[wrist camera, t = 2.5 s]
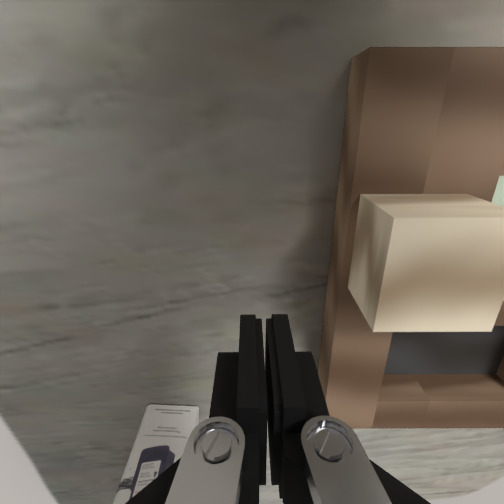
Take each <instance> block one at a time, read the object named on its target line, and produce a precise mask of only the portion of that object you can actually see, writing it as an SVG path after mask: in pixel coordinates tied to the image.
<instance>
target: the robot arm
mask: <svg viewBox="0 0 504 504" xmlns="http://www.w3.org/2000/svg"><path fill="white" fill-rule="evenodd" d="M267 421H268V437H269V453H270V468H271V483H272V485H279V495H280V498H283V503H284V504H431V503H429V502H428V501H426V500H425V499H424V498H422V497H421V496H419V495H418V494H417V493H415V492H414V491H413V490H411V489H410V488H408V487H407V486H406V485H404V484H403V483H401V482H400V481H399V480H397V479H396V478H394V477H393V476H392V475H390V474H389V473H388V472H386V471H385V470H383V469H382V468H381V467H379V466H378V465H376V464H375V463H374V462H372V461H371V460H370V459H369V458H368V456H367V454H366V452H365V450H364V448H363V447H362V445H361V443H360V441H359V439H358V437H357V435H356V434H355V432H354V431H353V429H352V428H351V427H350V426H349V425H347V424H346V423H345V422H343V421H342V420H340V419H338V418H335V417H331V416H330V415H329V411H328V408H327V404H326V401H325V397H324V394H323V390H322V386H321V383H320V379H319V376H318V372H317V369H316V365H315V362H314V358H313V355H312V353H311V352H295V349H294V344H293V339H292V334H291V330H290V325H289V320H288V315H287V314H272V318H271V319H266V352H265V363H264V348H263V333H262V319H256V315H241V316H240V338H239V352H219V353H218V357H217V364H216V371H215V379H214V386H213V393H212V401H211V408H210V415H209V419H206V420H204V421H202V422H201V423H199V424H198V425H197V426H196V427H195V428H194V429H193V430H192V432H191V434H190V436H189V438H188V440H187V443H186V446H185V449H184V452H183V454H182V457H181V458H179V459H178V460H177V461H176V462H175V463H173V464H172V465H171V466H170V467H169V468H167V469H166V470H165V471H164V472H162V473H161V474H160V475H159V476H158V477H156V478H155V479H154V480H153V481H152V482H150V483H149V484H148V485H147V486H146V487H144V488H143V489H142V490H141V491H140V492H138V493H137V494H136V495H135V496H133V497H132V498H131V499H130V500H129V501H127V502H126V503H125V504H259V485H266V451H267Z"/></svg>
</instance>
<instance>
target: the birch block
mask: <svg viewBox="0 0 504 504" xmlns="http://www.w3.org/2000/svg"><path fill="white" fill-rule="evenodd" d="M348 289H349V290H350V292H351V294H352V296H353V298H354V299H355V301H356V303H357V305H358V306H359V308H360V310H361V312H362V313H363V315H364V317H365V319H366V321H367V322H368V324H369V326H370V328H371V329H372V331H373V332H492V329H493V327H494V324H495V321H496V319H497V316H498V313H499V311H500V308H501V305H502V302H503V300H504V207H503V206H500V205H497V204H494V203H492V202H489V201H486V200H483V199H480V198H477V197H475V196H472V195H469V194H360V202H359V209H358V216H357V224H356V231H355V238H354V245H353V253H352V260H351V267H350V275H349V282H348Z"/></svg>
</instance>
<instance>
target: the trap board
mask: <svg viewBox="0 0 504 504" xmlns="http://www.w3.org/2000/svg"><path fill="white" fill-rule="evenodd" d="M360 194H469V195H472V196H475V197H477V198H480V199H483V200H486V201H489V202H492V203H494V204H497V205H500V206H503V207H504V47H370V48H368V49H366V50H365V51H363V52H361V53H360V54H358V55H356V56H355V57H353V58H351V67H350V76H349V86H348V95H347V104H346V114H345V123H344V132H343V142H342V151H341V161H340V170H339V179H338V189H337V198H336V207H335V217H334V226H333V236H332V245H331V254H330V264H329V273H328V282H327V292H326V301H325V310H324V320H323V329H322V339H321V348H320V357H319V367H318V376H319V379H320V383H321V386H322V390H323V394H324V397H325V401H326V404H327V408H328V411H329V415H330V416H331V417H335V418H338V419H340V420H342V421H343V422H345V423H346V424H347V425H349V426H350V427H351V428H504V300H503V302H502V305H501V308H500V311H499V313H498V316H497V319H496V321H495V324H494V327H493V329H492V332H373V331H372V329H371V328H370V326H369V324H368V322H367V321H366V319H365V317H364V315H363V313H362V312H361V310H360V308H359V306H358V305H357V303H356V301H355V299H354V298H353V296H352V294H351V292H350V290H349V289H348V282H349V275H350V267H351V260H352V253H353V245H354V238H355V231H356V224H357V216H358V209H359V202H360Z"/></svg>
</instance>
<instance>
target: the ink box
mask: <svg viewBox="0 0 504 504" xmlns="http://www.w3.org/2000/svg"><path fill="white" fill-rule="evenodd" d="M198 424H199V407H198V406H176V405H155V404H150V405H148V406H147V408H146V411H145V414H144V417H143V420H142V422H141V425H140V428H139V431H138V434H137V437H136V439H135V442H134V445H133V448H132V451H131V454H130V456H129V459H128V462H127V465H126V468H125V470H124V473H123V476H122V479H121V482H120V485H119V488H118V490H117V493H116V496H115V499H114V501H113V504H125V503H126V502H127V501H129V500H130V499H131V498H132V497H133V496H135V495H136V494H137V493H138V492H140V491H141V490H142V489H143V488H144V487H146V486H147V485H148V484H149V483H150V482H152V481H153V480H154V479H155V478H156V477H158V476H159V475H160V474H161V473H162V472H164V471H165V470H166V469H167V468H169V467H170V466H171V465H172V464H173V463H175V462H176V461H177V460H178V459H179V458H181V457H182V454H183V452H184V449H185V446H186V443H187V440H188V438H189V436H190V434H191V432H192V430H193V429H194V428H195V427H196V426H197V425H198Z"/></svg>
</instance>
